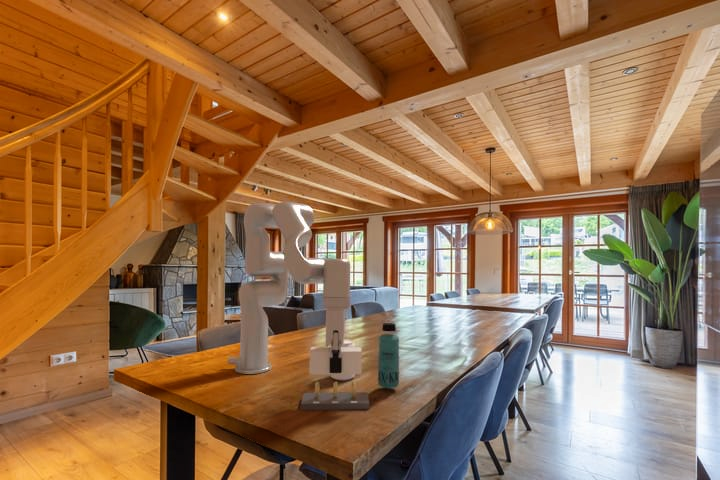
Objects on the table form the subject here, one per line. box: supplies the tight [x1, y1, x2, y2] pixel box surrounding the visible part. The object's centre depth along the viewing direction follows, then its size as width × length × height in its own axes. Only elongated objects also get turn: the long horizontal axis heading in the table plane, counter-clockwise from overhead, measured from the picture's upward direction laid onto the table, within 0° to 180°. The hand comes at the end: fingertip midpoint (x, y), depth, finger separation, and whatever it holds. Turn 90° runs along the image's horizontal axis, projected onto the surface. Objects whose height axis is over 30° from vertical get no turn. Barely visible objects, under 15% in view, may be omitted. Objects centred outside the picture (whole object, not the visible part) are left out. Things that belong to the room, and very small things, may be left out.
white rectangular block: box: [308, 346, 363, 375], centre depth 98 cm, size 14×5×6 cm, turn 93°
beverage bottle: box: [377, 322, 400, 389], centre depth 108 cm, size 6×7×20 cm
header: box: [300, 381, 370, 411], centre depth 97 cm, size 18×8×6 cm, turn 93°
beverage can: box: [330, 338, 356, 382], centre depth 119 cm, size 8×8×12 cm
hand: (335, 368), depth 97 cm, fingers closed on white rectangular block, 5 cm apart
